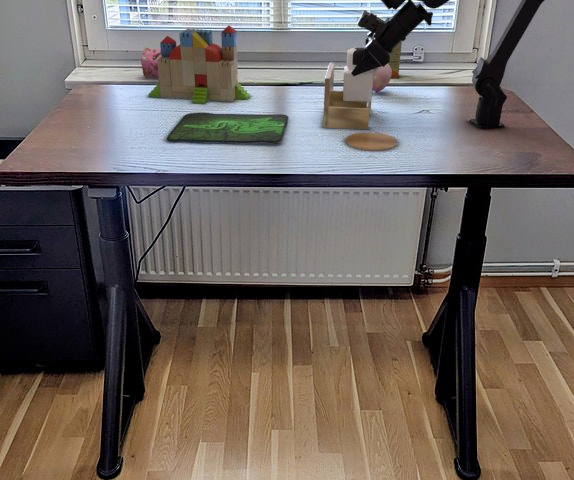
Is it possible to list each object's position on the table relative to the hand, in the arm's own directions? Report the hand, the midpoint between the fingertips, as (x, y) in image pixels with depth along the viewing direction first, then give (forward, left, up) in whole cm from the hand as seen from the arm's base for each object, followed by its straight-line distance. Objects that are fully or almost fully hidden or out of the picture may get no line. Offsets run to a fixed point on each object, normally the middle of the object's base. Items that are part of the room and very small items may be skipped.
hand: (352, 71), depth 159 cm
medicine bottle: (-1, -1, -7) cm, 7 cm away
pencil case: (+54, +39, -12) cm, 68 cm away
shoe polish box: (+41, -28, -12) cm, 51 cm away
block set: (+30, +35, -12) cm, 48 cm away
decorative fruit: (+23, -16, -12) cm, 31 cm away
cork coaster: (-19, +1, -12) cm, 22 cm away
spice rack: (0, 0, -12) cm, 12 cm away
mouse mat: (-2, +32, -12) cm, 34 cm away
